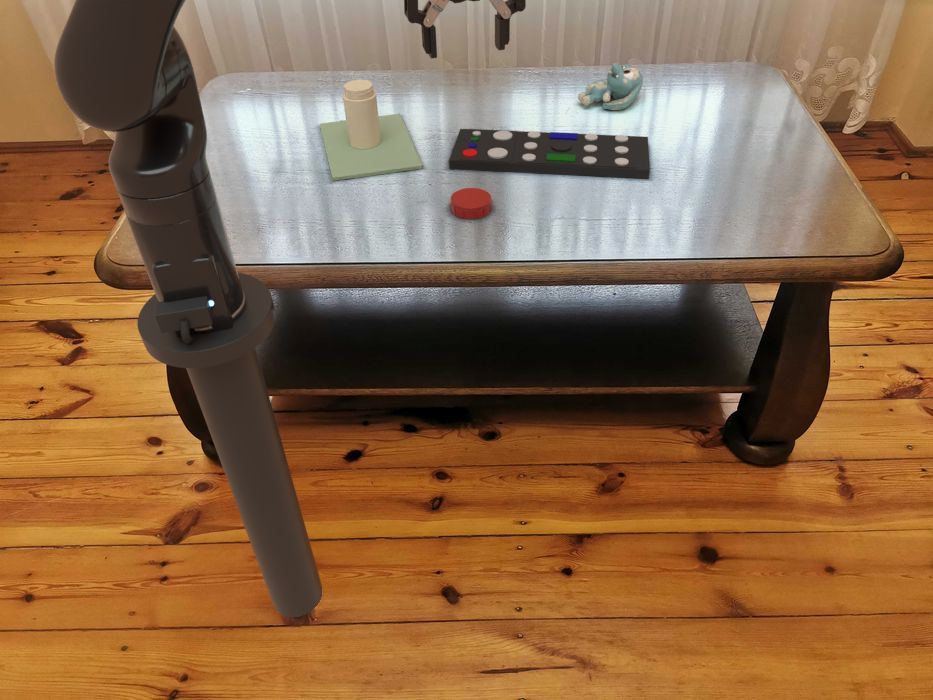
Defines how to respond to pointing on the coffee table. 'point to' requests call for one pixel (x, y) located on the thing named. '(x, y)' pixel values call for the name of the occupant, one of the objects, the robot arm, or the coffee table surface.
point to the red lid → (471, 203)
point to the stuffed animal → (615, 88)
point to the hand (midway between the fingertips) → (466, 52)
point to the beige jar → (361, 114)
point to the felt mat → (370, 150)
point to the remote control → (551, 153)
